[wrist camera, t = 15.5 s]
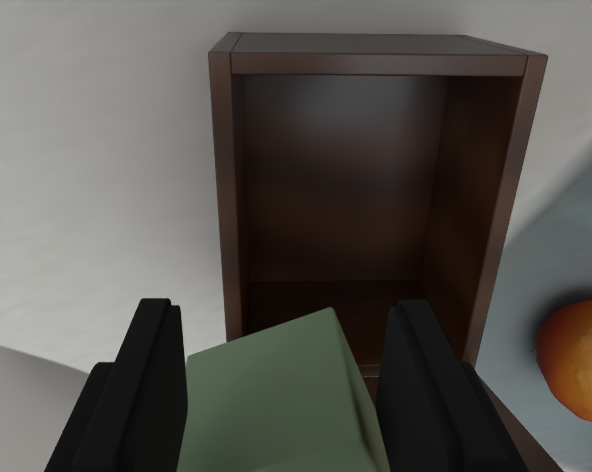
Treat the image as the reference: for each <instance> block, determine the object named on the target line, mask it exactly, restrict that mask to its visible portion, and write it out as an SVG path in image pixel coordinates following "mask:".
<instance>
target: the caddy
mask: <svg viewBox="0 0 592 472" xmlns="http://www.w3.org/2000/svg"><path fill="white" fill-rule="evenodd" d="M208 60H209V75H210V91H211V106H212V122H213V138H214V153H215V169H216V185H217V200H218V216H219V232H220V247H221V263H222V279H223V294H224V310H225V325H226V341H227V342H230V341H233V340H236V339H239V338H242V337H245V336H248V335H250V334H253V333H256V332H259V331H262V330H265V329H268V328H271V327H274V326H277V325H279V324H282V323H285V322H288V321H291V320H294V319H297V318H300V317H303V316H306V315H309V314H311V313H314V312H317V311H320V310H323V309H326V308H329V307H332V308H333V309H334V311H335V314H336V316H337V319H338V321H339V323H340V326H341V328H342V331H343V333H344V335H345V338H346V340H347V342H348V345H349V347H350V350H351V352H352V354H353V357H354V359H355V362H356V364H357V366H358V369H359V371H360V374H361V376H362V377H373V376H379V373H380V367H381V360H382V353H383V347H384V340H385V334H386V327H387V320H388V314H389V309H390V307H391V306H398V303H399V301H400V300H427V301H428V302H429V304H430V306H431V308H432V310H433V312H434V314H435V316H436V318H437V320H438V322H439V324H440V326H441V328H442V329H443V331H444V333H445V335H446V337H447V339H448V341H449V343H450V345H451V347H452V349H453V351H454V353H455V355H456V357H457V359H458V361H467V362H468V363H470V364H471V365H472V367H473V368H474V369H475V364H476V360H477V356H478V352H479V348H480V343H481V339H482V335H483V331H484V326H485V322H486V318H487V314H488V310H489V305H490V301H491V297H492V293H493V288H494V284H495V280H496V276H497V271H498V267H499V263H500V259H501V255H502V250H503V246H504V242H505V238H506V233H507V229H508V225H509V221H510V217H511V212H512V208H513V204H514V200H515V195H516V191H517V187H518V183H519V178H520V174H521V170H522V166H523V162H524V157H525V153H526V149H527V145H528V140H529V136H530V132H531V128H532V124H533V119H534V115H535V111H536V107H537V102H538V98H539V94H540V90H541V85H542V81H543V77H544V73H545V69H546V64H547V60H548V55H546V54H541V53H537V52H533V51H529V50H525V49H520V48H516V47H512V46H508V45H504V44H499V43H495V42H491V41H487V40H483V39H479V38H474V37H470V36H466V35H418V34H334V33H249V32H228V33H227V34H226V35H225V36H224V37H223V38H222V39H221V40H220V41H219V42H218V43H217V44H216V45H215V46H214V47H213V48H212V49H211V50H210V51H209V52H208Z"/></svg>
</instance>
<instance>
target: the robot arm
mask: <svg viewBox="0 0 592 472" xmlns="http://www.w3.org/2000/svg"><path fill="white" fill-rule="evenodd" d="M375 405H376V415H377V419H378V423H379V427H380V431H381V435H382V439H383V443H384V447H385V451H386V455H387V459H388V463H389V467H390V471H391V472H529V470H528V468H527V466H526V464H525V462H524V461H523V459H522V457H521V455H520V453H519V451H518V449H517V448H516V446H515V444H514V442H513V440H512V438H511V436H510V435H509V433H508V431H507V429H506V427H505V425H504V423H503V422H502V420H501V418H500V416H499V414H498V412H497V410H496V409H495V407H494V405H493V403H492V401H491V399H490V397H489V396H488V394H487V392H486V390H485V388H484V386H483V384H482V383H481V381H480V379H479V377H478V375H477V373H476V371H475V370H474V368H473V367H472V365H471V364H470V363H468V362H467V361H458V359H457V357H456V355H455V353H454V351H453V349H452V347H451V345H450V343H449V341H448V339H447V337H446V335H445V333H444V331H443V329H442V328H441V326H440V324H439V322H438V320H437V318H436V316H435V314H434V312H433V310H432V308H431V306H430V304H429V302H428V301H427V300H400V301H399V303H398V306H391V307H390V309H389V314H388V320H387V327H386V334H385V340H384V347H383V353H382V360H381V367H380V373H379V380H378V386H377V393H376V404H375ZM187 414H188V393H187V381H186V369H185V357H184V345H183V333H182V321H181V310H180V306H179V305H171V301H170V299H169V298H143V299H141V301H140V303H139V305H138V307H137V310H136V312H135V314H134V317H133V319H132V322H131V324H130V326H129V329H128V331H127V334H126V336H125V338H124V341H123V343H122V345H121V348H120V350H119V353H118V355H117V357H116V360H115V362H98V363H97V364H96V365H95V366H94V367H93V369H92V371H91V373H90V375H89V377H88V379H87V381H86V383H85V386H84V388H83V390H82V392H81V394H80V397H79V398H78V400H77V403H76V405H75V407H74V409H73V411H72V413H71V415H70V417H69V420H68V422H67V424H66V426H65V428H64V430H63V432H62V434H61V437H60V439H59V441H58V443H57V445H56V447H55V449H54V451H53V454H52V456H51V458H50V460H49V462H48V464H47V467H46V468H45V471H44V472H177V466H178V461H179V456H180V451H181V446H182V441H183V436H184V431H185V425H186V420H187Z"/></svg>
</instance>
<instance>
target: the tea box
mask: <svg viewBox="0 0 592 472" xmlns="http://www.w3.org/2000/svg"><path fill="white" fill-rule="evenodd" d="M185 369H186V381H187V393H188V414H187V420H186V425H185V431H184V436H183V441H182V446H181V451H180V456H179V461H178V466H177V472H391V471H390V467H389V463H388V459H387V455H386V451H385V447H384V443H383V439H382V435H381V431H380V427H379V423H378V419H377V415H376V410H375V407H374V405H373V402H372V400H371V398H370V395H369V393H368V390H367V388H366V386H365V383H364V381H363V378H362V376H361V374H360V371H359V369H358V366H357V364H356V362H355V359H354V357H353V354H352V352H351V350H350V347H349V345H348V342H347V340H346V338H345V335H344V333H343V331H342V328H341V326H340V323H339V321H338V319H337V316H336V314H335V311H334V309H333V308H332V307H329V308H326V309H323V310H320V311H317V312H314V313H311V314H309V315H306V316H303V317H300V318H297V319H294V320H291V321H288V322H285V323H282V324H279V325H277V326H274V327H271V328H268V329H265V330H262V331H259V332H256V333H253V334H250V335H248V336H245V337H242V338H239V339H236V340H233V341H230V342H227V343H224V344H221V345H218V346H216V347H213V348H210V349H207V350H204V351H201V352H198V353H195V354H192V355H190V356H188V358H187V362H186V367H185Z"/></svg>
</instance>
